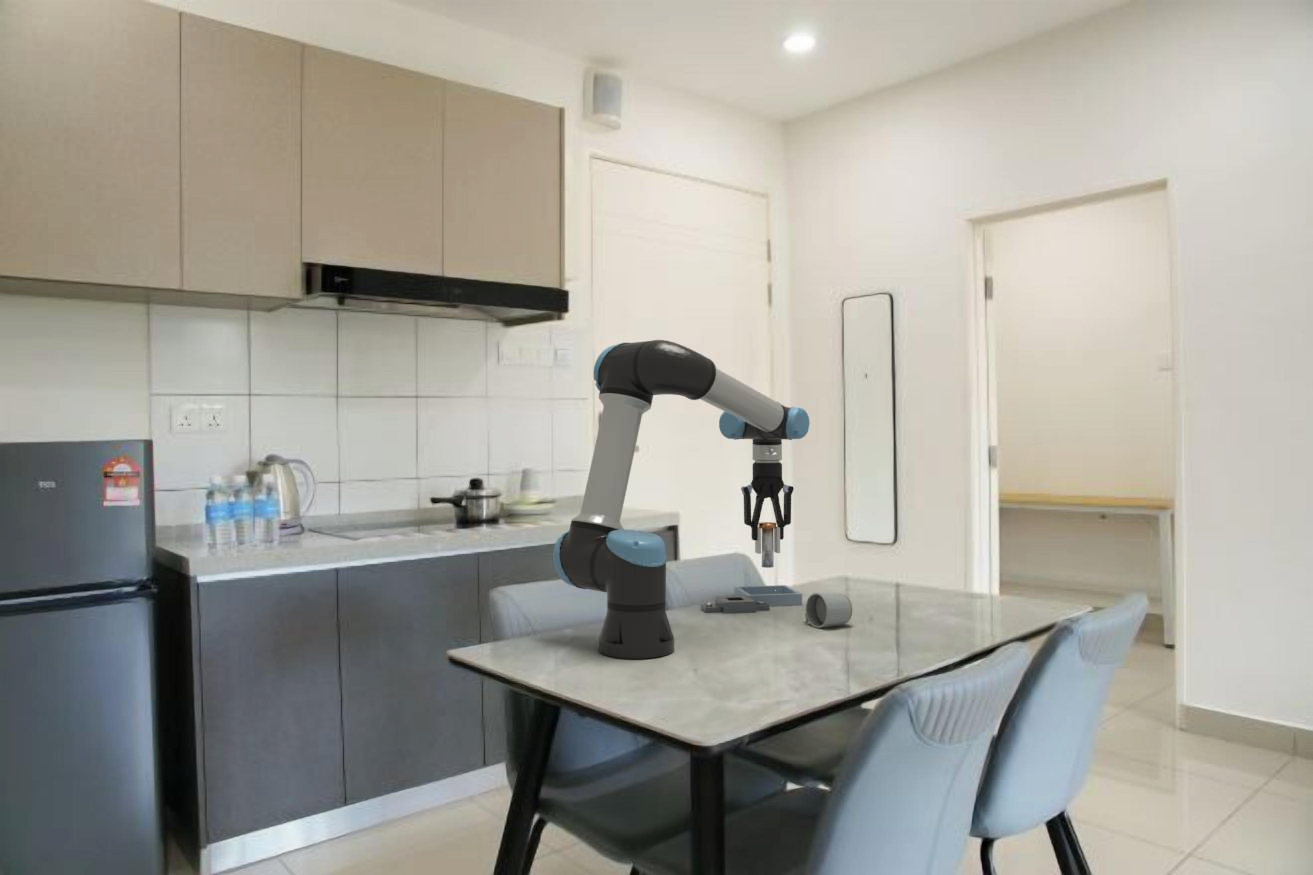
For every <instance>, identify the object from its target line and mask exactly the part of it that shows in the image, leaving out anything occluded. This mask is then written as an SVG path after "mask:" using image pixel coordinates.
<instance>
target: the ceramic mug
mask: <svg viewBox="0 0 1313 875" xmlns="http://www.w3.org/2000/svg"><path fill="white" fill-rule="evenodd" d="M852 615H853V605H852V603H851V600H850V598H848V596H847V595H846V594H843V593H840V592H814V593H811V594H810V595H809V596H808V598H807V601H806V603H805V613H804V616H805V620H806V621H807V622H808V623H809V624H810V625H811V626H813V627H814V628H816V629H822V628H830V627H837V626H838V627H839V626H842V625H844V624H847V623H848V622H850V620H851V618H852Z"/></svg>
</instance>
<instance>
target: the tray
mask: <svg viewBox="0 0 1313 875" xmlns="http://www.w3.org/2000/svg"><path fill="white" fill-rule="evenodd" d="M733 588H734V591H733V593H734V595H733V596H745V595H746V596H748V597H749V598H751V599H753V600H754V601H755V602H757V601H764V602H765V603H767V604H768V605H770V607H779V606H780V607H784V606H786V607H787V606H802V605H803V593H801V592H799V591H797V590H796V589H794V588H792V587H790V586H789V585H785V584H779V585H777V584H776V585H750V586H748V585H747V586H734V587H733ZM775 590H776V591H775Z"/></svg>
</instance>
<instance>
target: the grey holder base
mask: <svg viewBox="0 0 1313 875" xmlns="http://www.w3.org/2000/svg"><path fill="white" fill-rule="evenodd" d="M714 601H715V602H714V603H712V602H706V603H700V610H702V611H703V613H723V614H741V613H742V614H743V613H745V614H747V613H756V612H758V611H759V612H763V611H764V612H765V611H770V607H771V606H770V605H768V604H767V603H765V602H764V601H757V602H755V601H754V600H753V599H751V598H749V597H748V596H746V595H745V596H734V595H725V596H724V595H719V596H715V598H714Z"/></svg>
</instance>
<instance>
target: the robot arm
mask: <svg viewBox="0 0 1313 875" xmlns="http://www.w3.org/2000/svg"><path fill="white" fill-rule="evenodd" d="M593 366H594V367H593V380H594V381H595V382H596V383H595V386H596V388H597V390H598V391H599V393H598V400H600V403H601V404H602V405H603V407H602V413H601V419H600V421H599V427H598V431H597V435H596V439H595V443H594V444H595V445H594V449H593V455H592V458H591V463H590V467H589V472H588V477H587V481H586V486H585V490H584V491H585V492H584V495H583V499H582V504H581V509H580V513H579V514H578V515H577V516H575V517H573V518H572V519H571V521H570V525H569V530H568V531H566V532H565V533H562V535H561V536H560V537H559V538H558V539H557V540H556V542H555V544H554V547H553V552H552V561H553V562H552V563H553V566H554V570H555V572H556V573H557V574H558V577H559V578H560V579H561V580H562V582H564V583H566V584H567V585H570V586H573V587H575V588H577V589H582V590H590V591H597V592H601V593H606V597H607V598H606V601H607V602H606V603H607V604H606V605H607V606H606V608H607V609H606V615H605V617H604V621H603V624H602V627H601V631H600V633H599V637H598V652H599V653H600V654H602V655H605V656H607V657H613V658H619V659H634V660H635V659H636V660H637V659H652V658H659V657H664V656H667V655H670V654H671V653H673V652H674V651H675V637H674V633H673V630H672V627H671V624H670V620H669V618H668V615H667V611H666V599H667V598H666V587H667V586H666V585H667V583H666V582H667V581H666V580H667V579H666V578H667V554H666V544H665V541H664V539H663V538H662V537H661V536H660V535H658V534H655V533H654V532H653V533H652V532H649V531H643V530H635V529H625V528H624V527H623V525H622V523H621V518H622V514H623V508H624V503H625V498H626V494H627V490H628V485H629V479H630V474H631V470H632V465H633V460H634V455H635V451H636V446H637V442H638V437H639V432H640V431H639V430H640V428H641V422H642V418H643V415H644V414H645V413H647V412H648V411H649V410H651V407H652V403H653V399H654V396H661V395H662V396H663V395H672V396H674V395H675V396H681V397H685V398H687V399H689V400H691V401H699V400H701V401H703V402H704V403H705V402H706V404H709V405H711V406H714V407H715V408H717V409H718V410H722V411H723V412H722V413H721V414H720V416H719V421H718V422H719V424H718V428H719V431H720V433H721V435H722V436H723V437H725V438H726V439H728V440H752V461H754V462H753V463H752V480H751V482H750V484H748V485H746V486H741V487H740V490H741V492H742V494H743V522H744V524H745V525H746V526H749V527H750V528H751V540H752V541H754V543H755V544H754V550H755V553H756V554H757V555H760V554H761V555H762V528H759V523H760V519H761V513H762V509H763V505H764V501H765V499H767V498H770V501H771V504H772V509H773V514H774V517H775V523H776V528H774V529H773V541H774V553H777V554H781V540H784V534H785V533H784V528H785V527H786V526H788V525H791V523H792V494H793V492H794V486H792V485H788V484H785V483H784V480H783V463H782V462H780V461H782V459H783V440H789V441H792V440H800V439H803V438H804V437H806V436H807V434H808V432H809V430H810V429H809V428H810V418H809V415H808V413H807V410H805V409H804V408H802V407H795V406H791V407H788V406H785V405H783V404H781V403H780V402H779V401H776V400H774V399H773V398H771V397H769V396H767V395H765V394H763V393H761V392H760V391H758V390H757V389H754V388H752V387H751V386H749V385H748V384H745V383H743V382H742V381H740V380H738V379H736V378H734V377H732V376H731V375H729V374H728V373H726V372H724V371H722V370H720V369H718V368H717V366H716V363H715V362H714V361H713V360H712V359H711V358H708V357H706V356H705V355H703V354H702V353H699V352H697V351H695V350H693V349H691V348H689V347H687V346H685V345H681V344H679V343H676V342H674V341H669V340H664V339H654V340H647V341H638V342H637V341H636V342H621V343H618V344H617V343H616V344H614V345H610V346H608V347H606V348H605V349H604V350H602V351H601V353H600V354H599V355H598V357H597V359H596V360H595V363H594V365H593ZM752 489H753V491H754V492H755V494H756V495H755V496H756V497H755V505H754V508H753V514H752V495H751V494H752ZM781 491H782V492H783V514H782V509H781V503H780V498H779V494H780V492H781Z"/></svg>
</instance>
